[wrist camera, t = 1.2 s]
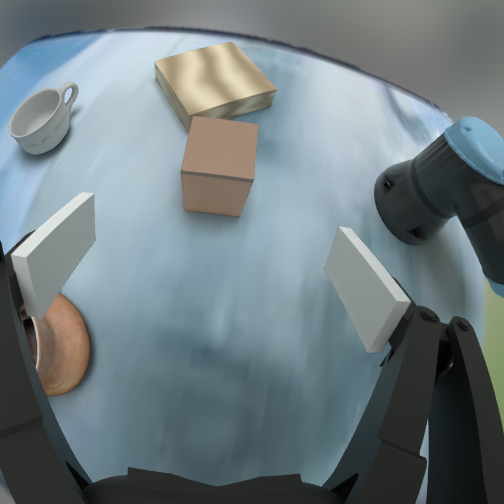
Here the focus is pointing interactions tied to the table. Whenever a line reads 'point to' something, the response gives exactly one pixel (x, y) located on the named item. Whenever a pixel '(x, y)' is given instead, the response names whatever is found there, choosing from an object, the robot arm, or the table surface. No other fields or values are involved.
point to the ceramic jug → (58, 345)
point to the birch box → (213, 83)
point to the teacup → (43, 119)
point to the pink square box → (218, 165)
